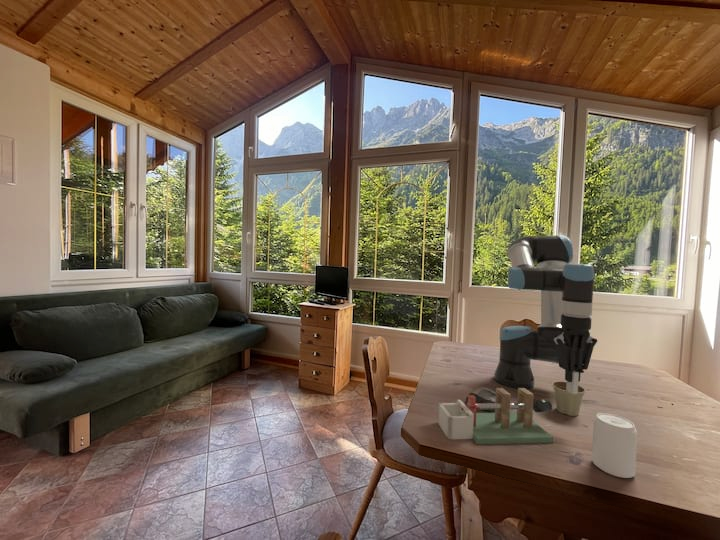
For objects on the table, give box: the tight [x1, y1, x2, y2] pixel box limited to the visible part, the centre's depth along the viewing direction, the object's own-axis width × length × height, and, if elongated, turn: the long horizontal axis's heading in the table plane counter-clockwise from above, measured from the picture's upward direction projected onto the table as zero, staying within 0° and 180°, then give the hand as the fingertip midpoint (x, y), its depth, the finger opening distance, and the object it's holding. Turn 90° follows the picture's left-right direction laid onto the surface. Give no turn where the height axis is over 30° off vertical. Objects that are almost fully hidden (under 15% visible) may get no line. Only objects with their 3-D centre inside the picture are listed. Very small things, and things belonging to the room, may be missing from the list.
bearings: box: [495, 387, 534, 429], centre depth 91 cm, size 9×4×10 cm, turn 95°
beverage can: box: [591, 412, 638, 479], centre depth 74 cm, size 8×8×12 cm
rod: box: [466, 394, 553, 427], centre depth 91 cm, size 25×4×8 cm, turn 95°
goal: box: [437, 399, 474, 440], centre depth 89 cm, size 7×9×7 cm
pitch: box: [461, 411, 554, 445], centre depth 91 cm, size 22×14×2 cm, turn 95°
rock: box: [465, 386, 496, 413], centre depth 106 cm, size 14×11×5 cm
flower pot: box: [551, 380, 587, 417], centre depth 103 cm, size 9×9×9 cm
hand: (571, 391), depth 93 cm, fingers closed
